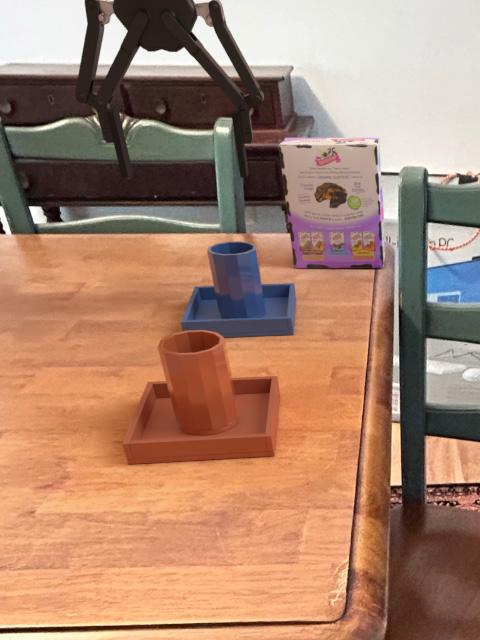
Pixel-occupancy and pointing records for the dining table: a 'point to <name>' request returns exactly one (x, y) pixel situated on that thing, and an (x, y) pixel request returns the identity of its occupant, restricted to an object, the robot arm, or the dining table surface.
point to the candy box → (334, 201)
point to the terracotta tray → (176, 445)
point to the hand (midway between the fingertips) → (186, 175)
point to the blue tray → (274, 322)
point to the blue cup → (237, 279)
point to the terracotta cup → (199, 381)
